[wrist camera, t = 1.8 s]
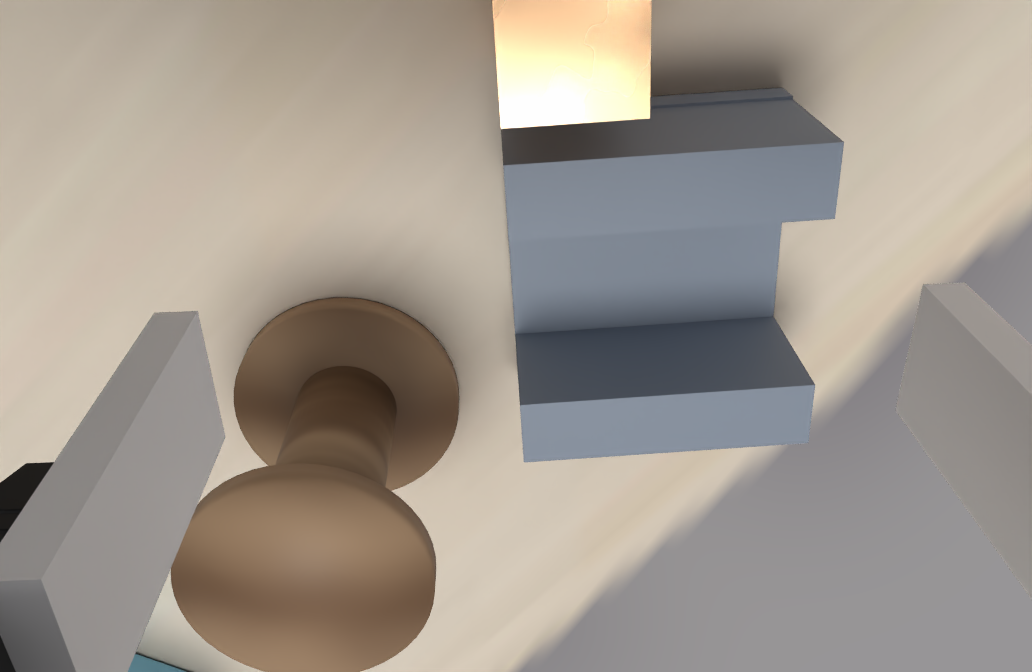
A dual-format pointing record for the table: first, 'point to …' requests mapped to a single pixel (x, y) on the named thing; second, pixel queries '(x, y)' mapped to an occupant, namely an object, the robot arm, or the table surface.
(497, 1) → the tab
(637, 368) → the notch board
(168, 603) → the table surface
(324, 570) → the door knob
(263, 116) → the table surface
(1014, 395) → the robot arm
